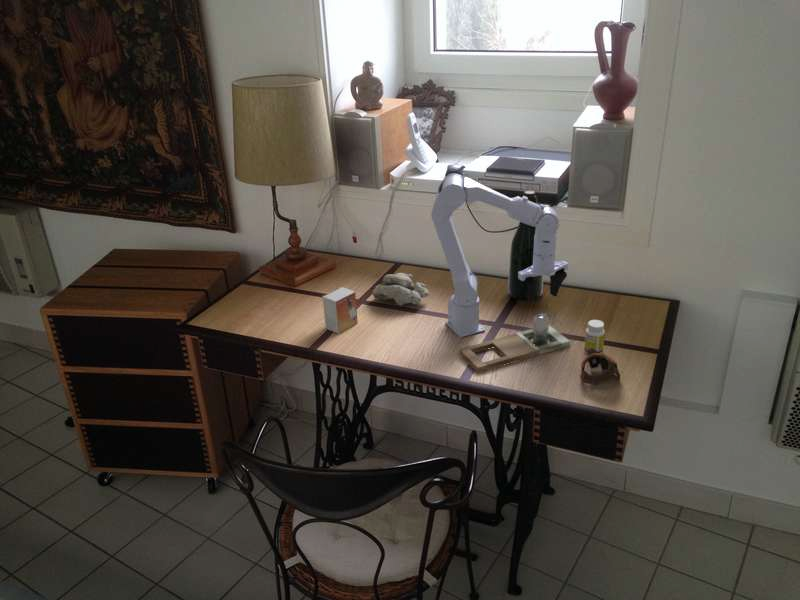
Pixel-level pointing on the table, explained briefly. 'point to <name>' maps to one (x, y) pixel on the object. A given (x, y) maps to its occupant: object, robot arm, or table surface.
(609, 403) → the table surface
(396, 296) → the mineral
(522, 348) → the board with square holes
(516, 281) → the dark green wine bottle
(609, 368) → the pottery mug
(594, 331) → the supplement bottle
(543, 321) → the peg
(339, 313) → the small box
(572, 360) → the table surface
